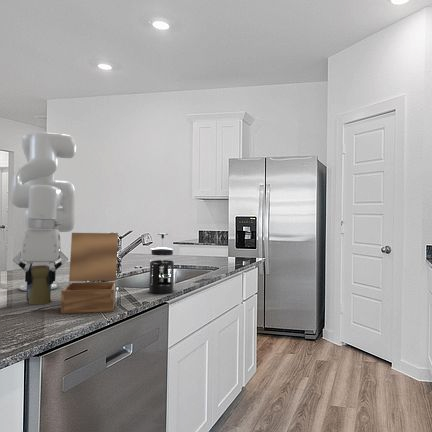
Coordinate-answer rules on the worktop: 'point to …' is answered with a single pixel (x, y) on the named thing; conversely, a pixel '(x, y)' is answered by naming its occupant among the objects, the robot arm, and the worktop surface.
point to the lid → (93, 257)
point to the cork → (40, 286)
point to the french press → (163, 286)
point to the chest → (88, 297)
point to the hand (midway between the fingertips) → (40, 283)
